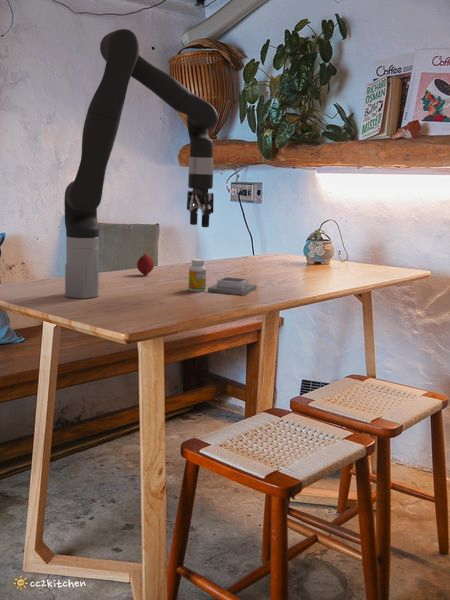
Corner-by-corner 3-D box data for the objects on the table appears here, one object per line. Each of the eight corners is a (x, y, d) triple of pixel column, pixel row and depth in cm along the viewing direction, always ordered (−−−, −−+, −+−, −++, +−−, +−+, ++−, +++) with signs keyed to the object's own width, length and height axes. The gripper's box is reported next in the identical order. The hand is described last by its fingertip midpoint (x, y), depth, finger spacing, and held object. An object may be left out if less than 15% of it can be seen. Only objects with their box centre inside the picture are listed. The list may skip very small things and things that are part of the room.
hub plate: (244, 295, 210) (245, 284, 210) (207, 291, 214) (208, 281, 213) (256, 288, 223) (257, 278, 223) (221, 285, 227) (222, 275, 226)
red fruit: (145, 277, 236) (145, 254, 235) (133, 275, 240) (133, 252, 238) (156, 275, 241) (157, 253, 239) (144, 273, 244) (145, 251, 243)
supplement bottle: (186, 288, 217) (187, 258, 215) (202, 288, 219) (203, 258, 217) (191, 292, 212) (192, 261, 211) (207, 291, 214) (209, 260, 212)
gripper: (222, 173, 204) (220, 228, 207) (202, 172, 217) (200, 223, 220) (199, 173, 201) (197, 228, 204) (180, 171, 213) (178, 223, 216)
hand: (199, 225), depth 212 cm, fingers open, 8 cm apart
